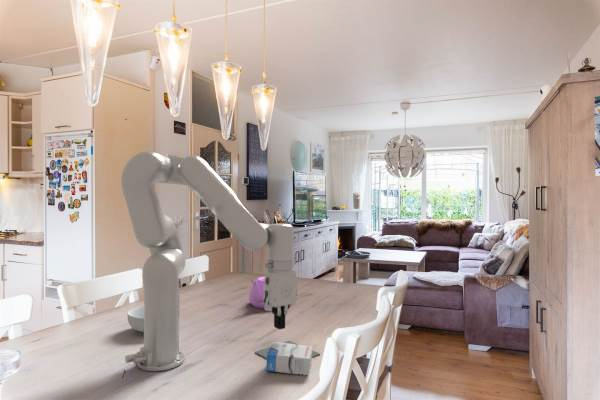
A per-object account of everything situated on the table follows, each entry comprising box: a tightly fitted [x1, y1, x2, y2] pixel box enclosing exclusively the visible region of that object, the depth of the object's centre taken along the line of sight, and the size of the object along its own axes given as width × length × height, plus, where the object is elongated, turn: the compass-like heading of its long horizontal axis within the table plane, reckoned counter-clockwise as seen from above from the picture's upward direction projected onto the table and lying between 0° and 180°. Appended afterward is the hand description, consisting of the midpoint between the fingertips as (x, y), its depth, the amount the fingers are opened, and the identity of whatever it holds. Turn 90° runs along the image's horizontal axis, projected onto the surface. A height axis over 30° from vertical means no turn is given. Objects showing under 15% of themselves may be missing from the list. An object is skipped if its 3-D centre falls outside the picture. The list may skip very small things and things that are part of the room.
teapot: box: [248, 276, 265, 309], centre depth 172 cm, size 25×18×14 cm
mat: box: [254, 340, 321, 360], centre depth 117 cm, size 14×14×1 cm
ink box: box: [265, 341, 314, 376], centre depth 108 cm, size 8×5×12 cm
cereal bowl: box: [127, 305, 144, 334], centre depth 137 cm, size 17×17×7 cm
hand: (279, 327), depth 114 cm, fingers closed
